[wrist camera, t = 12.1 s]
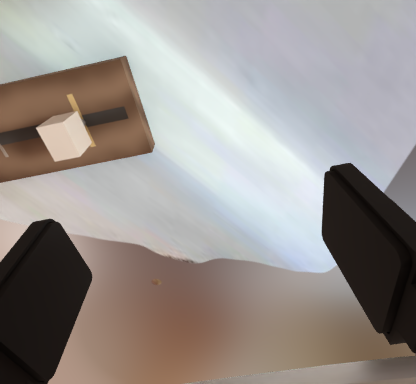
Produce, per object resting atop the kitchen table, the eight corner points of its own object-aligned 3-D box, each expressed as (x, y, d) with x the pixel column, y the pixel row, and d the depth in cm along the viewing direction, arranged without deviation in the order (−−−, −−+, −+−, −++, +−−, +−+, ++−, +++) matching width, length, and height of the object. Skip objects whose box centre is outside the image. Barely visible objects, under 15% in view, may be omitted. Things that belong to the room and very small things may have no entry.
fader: (62, 109, 33) (35, 127, 28) (85, 104, 33) (62, 122, 28) (76, 139, 36) (54, 161, 30) (98, 135, 35) (80, 156, 30)
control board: (-50, 95, 35) (-69, 101, 33) (126, 55, 33) (120, 58, 31) (5, 174, 42) (-7, 184, 39) (154, 144, 40) (151, 152, 37)
